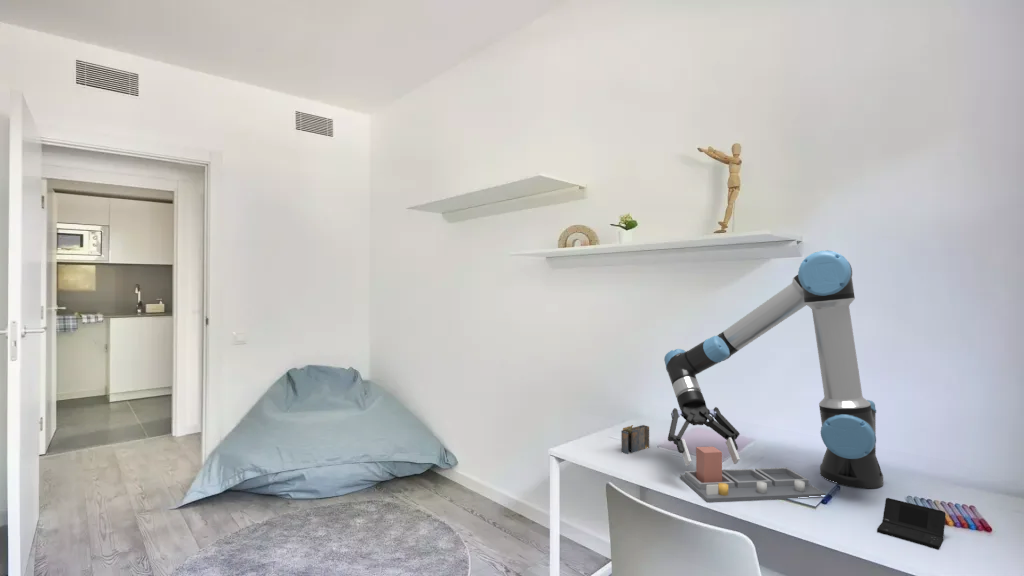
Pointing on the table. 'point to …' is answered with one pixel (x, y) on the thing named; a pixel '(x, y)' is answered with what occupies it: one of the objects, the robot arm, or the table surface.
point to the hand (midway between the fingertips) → (713, 462)
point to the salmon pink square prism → (708, 464)
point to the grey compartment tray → (753, 485)
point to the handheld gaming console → (913, 523)
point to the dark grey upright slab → (635, 438)
